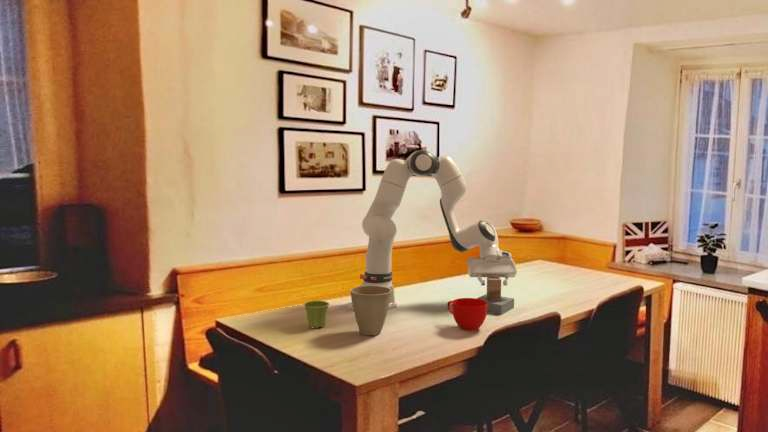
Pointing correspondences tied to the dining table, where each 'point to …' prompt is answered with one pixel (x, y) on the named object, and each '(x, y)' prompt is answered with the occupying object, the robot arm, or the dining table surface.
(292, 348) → the dining table surface
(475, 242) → the robot arm
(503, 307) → the charcoal plinth
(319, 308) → the plant pot
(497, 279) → the walnut post
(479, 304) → the ceramic cup
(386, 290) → the plant pot
